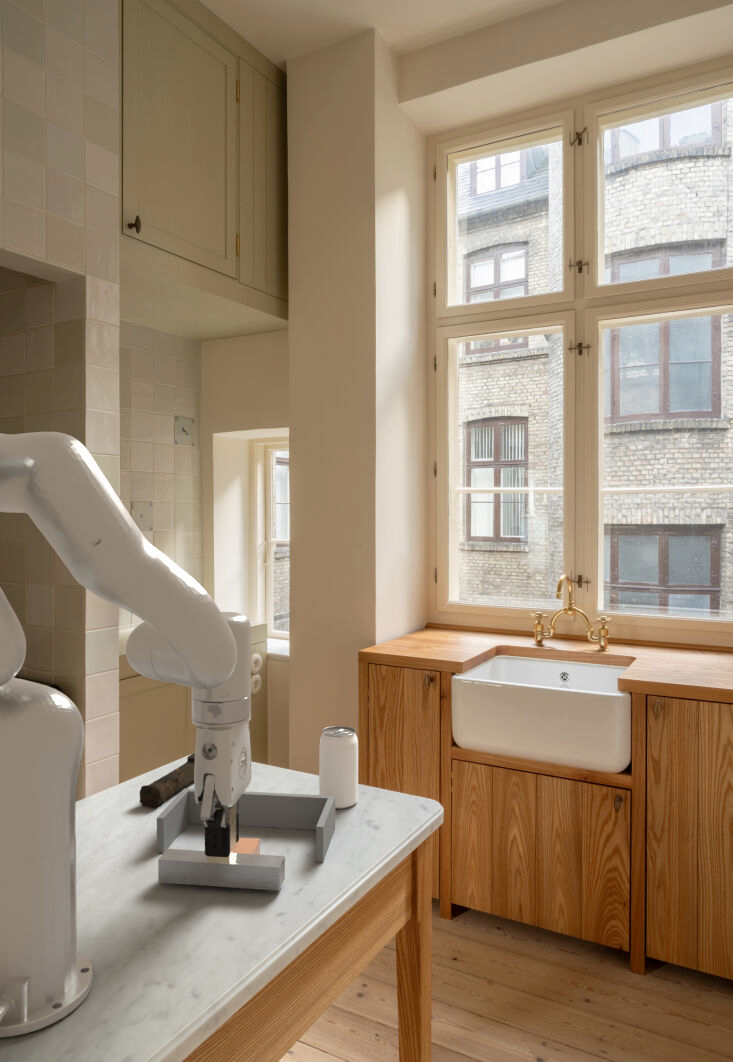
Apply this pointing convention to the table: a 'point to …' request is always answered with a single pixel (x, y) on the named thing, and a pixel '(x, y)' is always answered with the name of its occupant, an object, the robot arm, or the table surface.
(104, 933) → the table surface
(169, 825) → the box
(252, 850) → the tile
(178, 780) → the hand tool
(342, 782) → the can
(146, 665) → the robot arm
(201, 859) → the scraper
